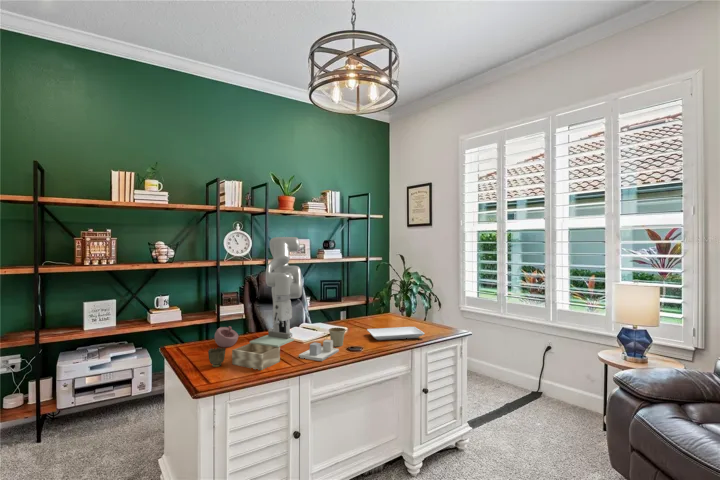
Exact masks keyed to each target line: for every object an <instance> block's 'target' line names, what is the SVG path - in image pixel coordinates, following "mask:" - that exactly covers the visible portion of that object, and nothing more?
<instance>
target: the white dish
mask: <svg viewBox="0 0 720 480" xmlns="http://www.w3.org/2000/svg"><path fill="white" fill-rule="evenodd" d="M339 352H340V348H337V347H336V348H335V347H333V350H332V351H331V352H323V345H321V354H319V355H317V356H316V355H310V348H309V349H308V350H305V351H304V352H301V353H299V354H298V358H299V357H300V359H304V358H305V359H306V360H310V361H318V362H323V361H326V359H329V358H330V357H332V356H334V355H335V354H337V353H339Z"/></svg>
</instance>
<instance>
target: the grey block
mask: <svg viewBox="0 0 720 480" xmlns="http://www.w3.org/2000/svg"><path fill="white" fill-rule="evenodd" d="M321 346H322V343H319V342H315V341H314V342H312V343H309V349H310V355H316V356H317V355H319V354H321Z"/></svg>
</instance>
